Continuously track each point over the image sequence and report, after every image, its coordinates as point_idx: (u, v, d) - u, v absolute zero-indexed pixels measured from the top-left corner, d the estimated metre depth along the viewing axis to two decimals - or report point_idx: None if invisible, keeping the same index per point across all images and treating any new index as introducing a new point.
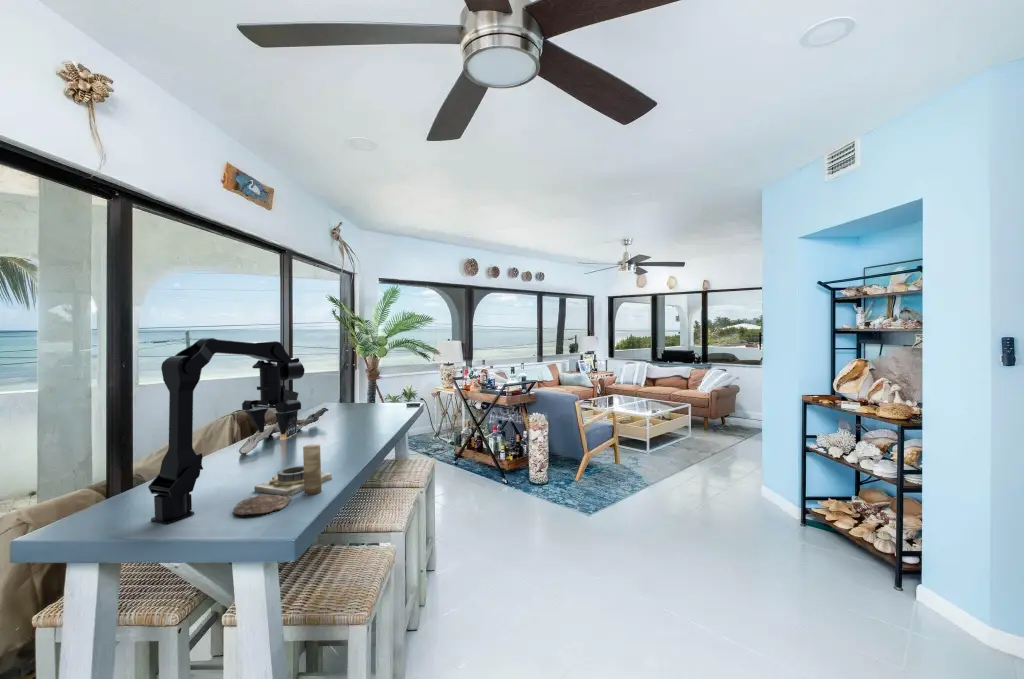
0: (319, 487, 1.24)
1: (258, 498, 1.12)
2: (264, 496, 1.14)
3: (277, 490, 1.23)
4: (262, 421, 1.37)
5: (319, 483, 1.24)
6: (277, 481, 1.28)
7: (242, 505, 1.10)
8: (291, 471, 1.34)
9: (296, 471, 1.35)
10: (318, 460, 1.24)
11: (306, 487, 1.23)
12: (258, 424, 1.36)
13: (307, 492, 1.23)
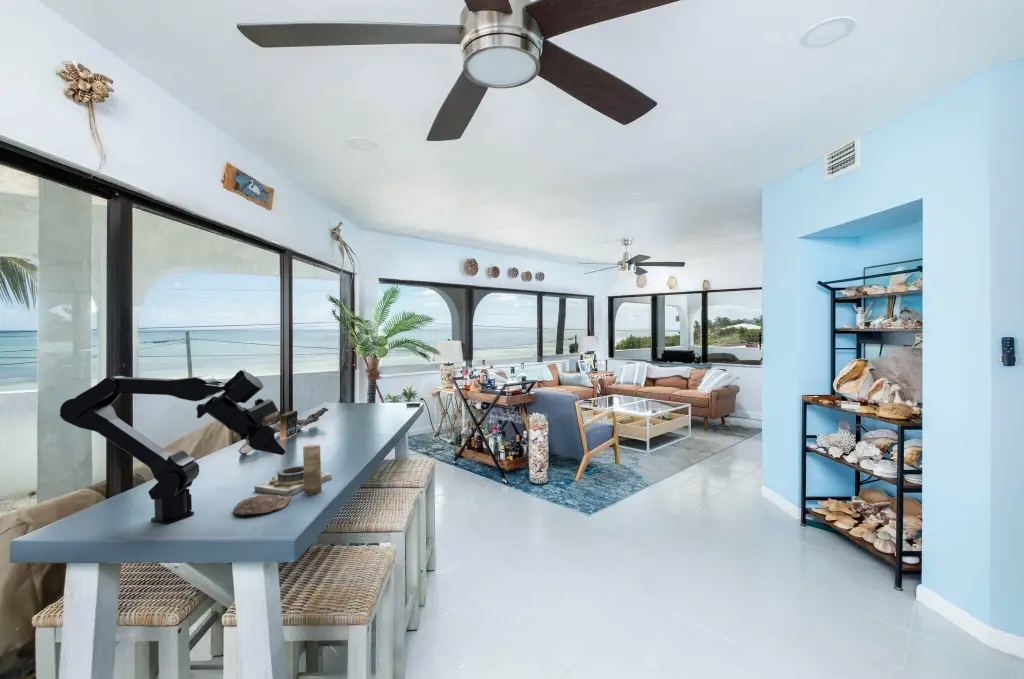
0: (319, 487, 1.24)
1: (258, 498, 1.12)
2: (264, 496, 1.14)
3: (277, 490, 1.23)
4: None
5: (319, 483, 1.24)
6: (277, 481, 1.28)
7: (242, 505, 1.10)
8: (291, 471, 1.34)
9: (296, 471, 1.35)
10: (318, 460, 1.24)
11: (306, 487, 1.23)
12: None
13: (307, 492, 1.23)
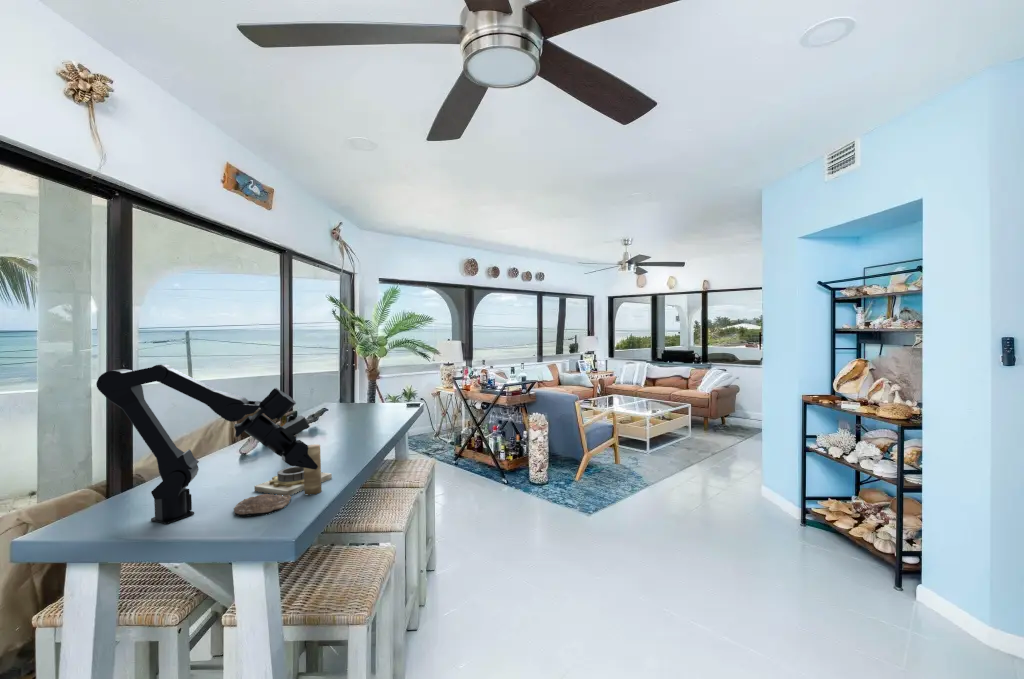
0: (319, 487, 1.24)
1: (258, 498, 1.13)
2: (264, 496, 1.14)
3: (277, 490, 1.23)
4: None
5: (319, 483, 1.24)
6: (277, 481, 1.28)
7: (242, 504, 1.10)
8: (291, 471, 1.34)
9: (296, 471, 1.35)
10: (318, 460, 1.24)
11: (306, 487, 1.23)
12: None
13: (307, 492, 1.23)
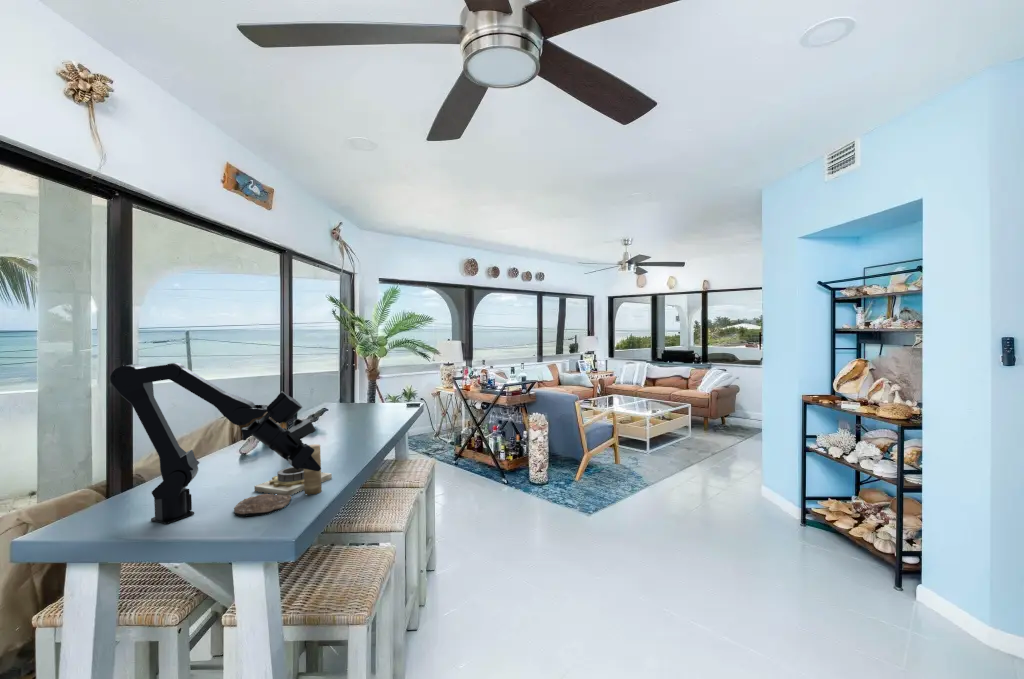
0: (319, 487, 1.24)
1: (259, 497, 1.13)
2: (265, 495, 1.14)
3: (277, 490, 1.23)
4: None
5: (319, 483, 1.24)
6: (277, 481, 1.28)
7: (242, 504, 1.10)
8: (291, 471, 1.34)
9: (296, 471, 1.35)
10: (318, 460, 1.24)
11: (306, 487, 1.23)
12: None
13: (307, 492, 1.23)
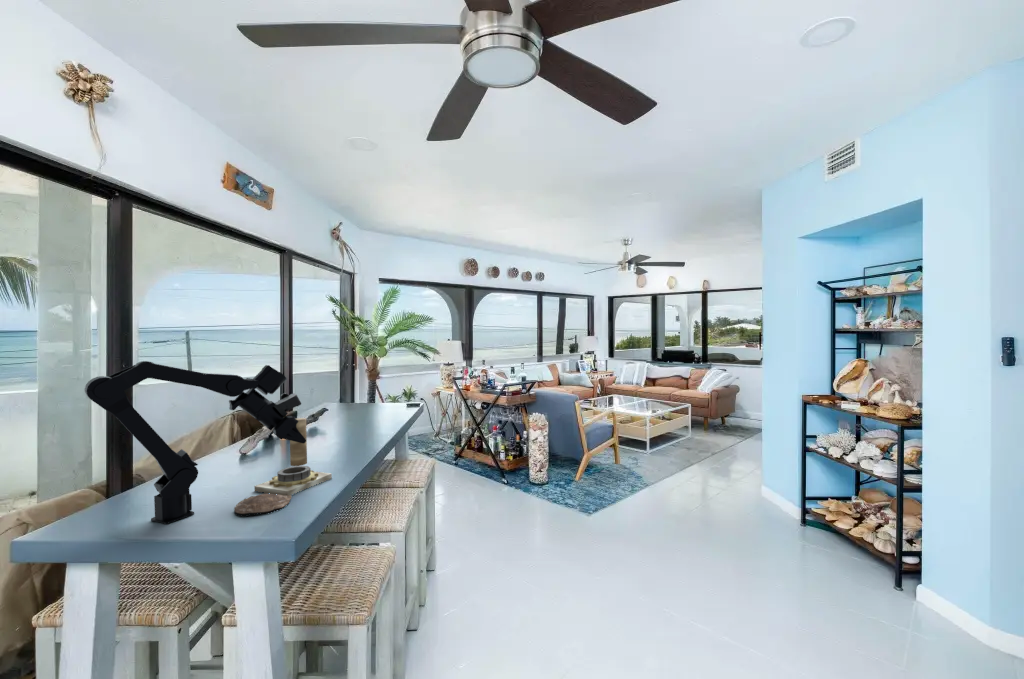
0: (304, 459, 1.29)
1: (259, 497, 1.13)
2: (265, 495, 1.15)
3: (277, 490, 1.23)
4: None
5: (304, 455, 1.29)
6: (277, 481, 1.28)
7: (243, 504, 1.11)
8: (291, 471, 1.34)
9: (296, 471, 1.35)
10: (304, 433, 1.29)
11: (292, 458, 1.27)
12: None
13: (293, 463, 1.27)
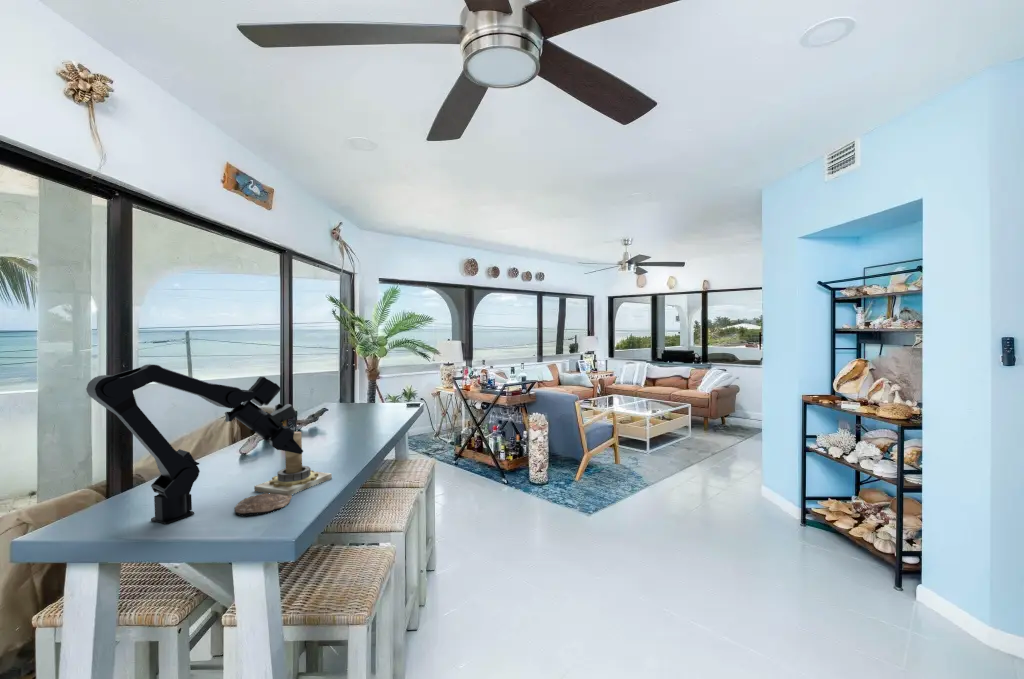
0: None
1: (259, 497, 1.13)
2: (265, 495, 1.15)
3: (277, 490, 1.23)
4: None
5: (300, 468, 1.31)
6: (277, 481, 1.28)
7: (243, 504, 1.11)
8: None
9: None
10: None
11: (287, 472, 1.30)
12: None
13: None
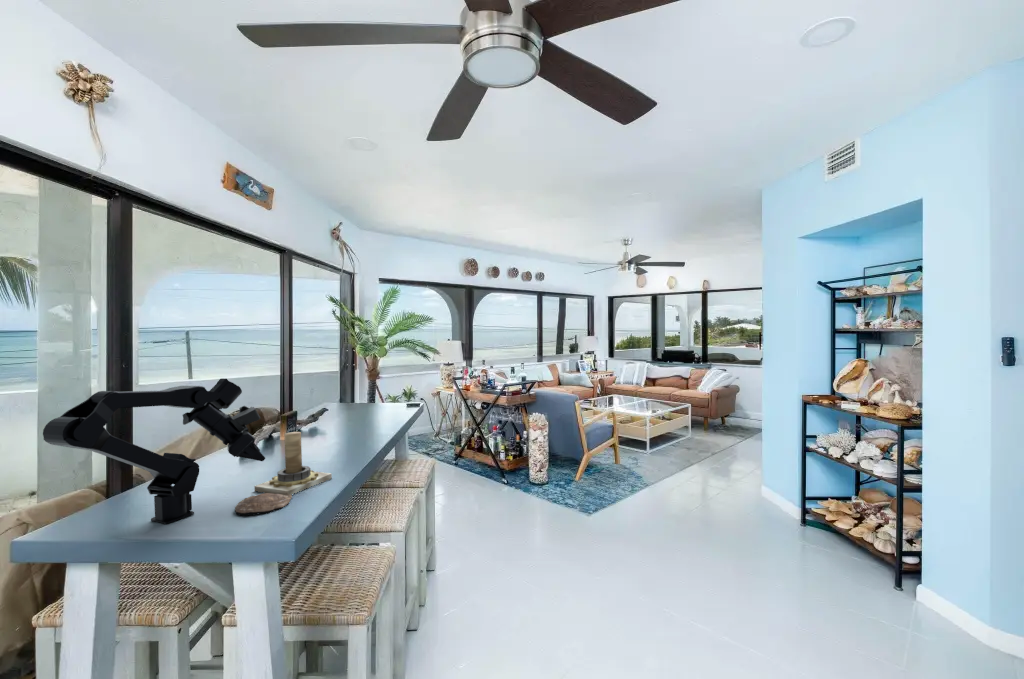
0: None
1: (259, 497, 1.13)
2: (265, 495, 1.15)
3: (277, 490, 1.23)
4: None
5: (300, 468, 1.31)
6: (277, 481, 1.28)
7: (243, 503, 1.11)
8: None
9: None
10: (299, 446, 1.31)
11: (287, 472, 1.30)
12: None
13: None
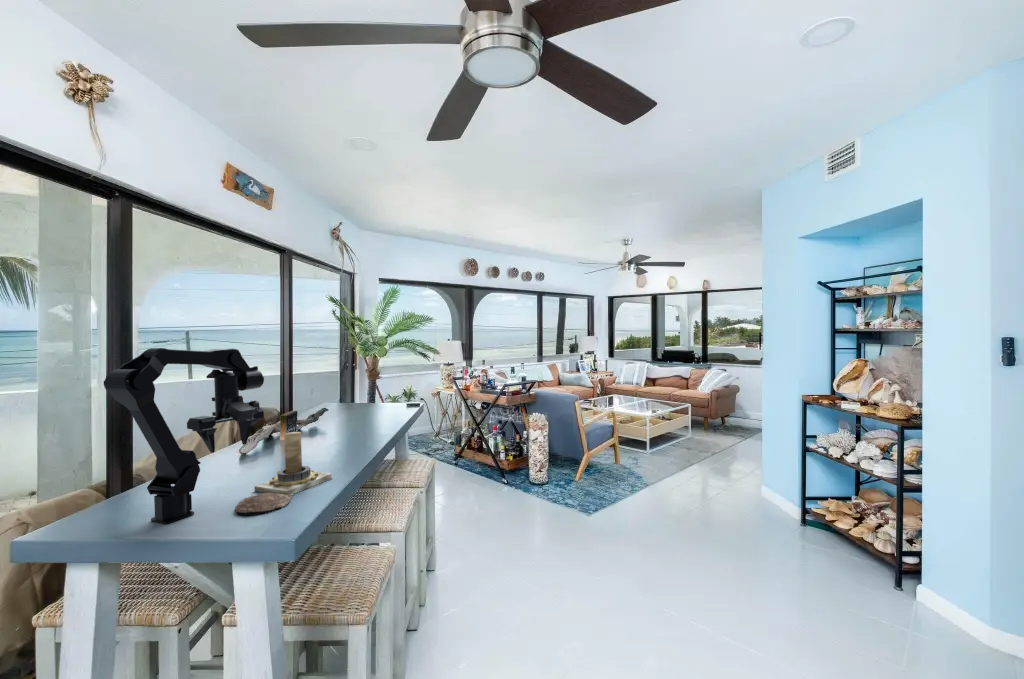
0: None
1: (260, 496, 1.14)
2: (266, 494, 1.15)
3: (277, 490, 1.23)
4: (245, 433, 1.29)
5: (300, 468, 1.31)
6: (277, 481, 1.28)
7: (244, 503, 1.11)
8: None
9: None
10: (299, 446, 1.31)
11: (287, 472, 1.30)
12: (241, 435, 1.29)
13: None
